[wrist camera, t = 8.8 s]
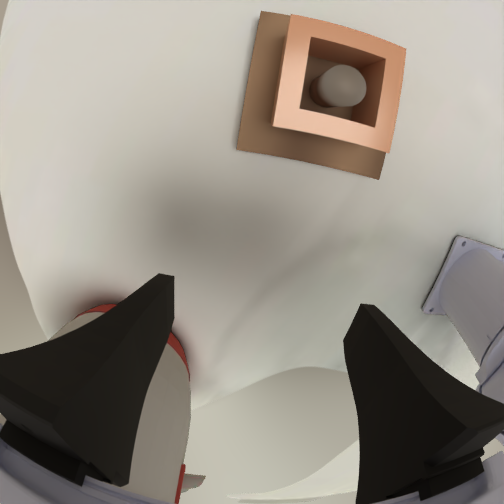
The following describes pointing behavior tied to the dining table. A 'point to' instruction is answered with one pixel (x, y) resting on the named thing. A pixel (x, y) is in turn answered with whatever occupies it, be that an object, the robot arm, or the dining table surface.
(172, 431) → the citrus juicer
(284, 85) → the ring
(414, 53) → the dining table surface
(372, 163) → the post stand
